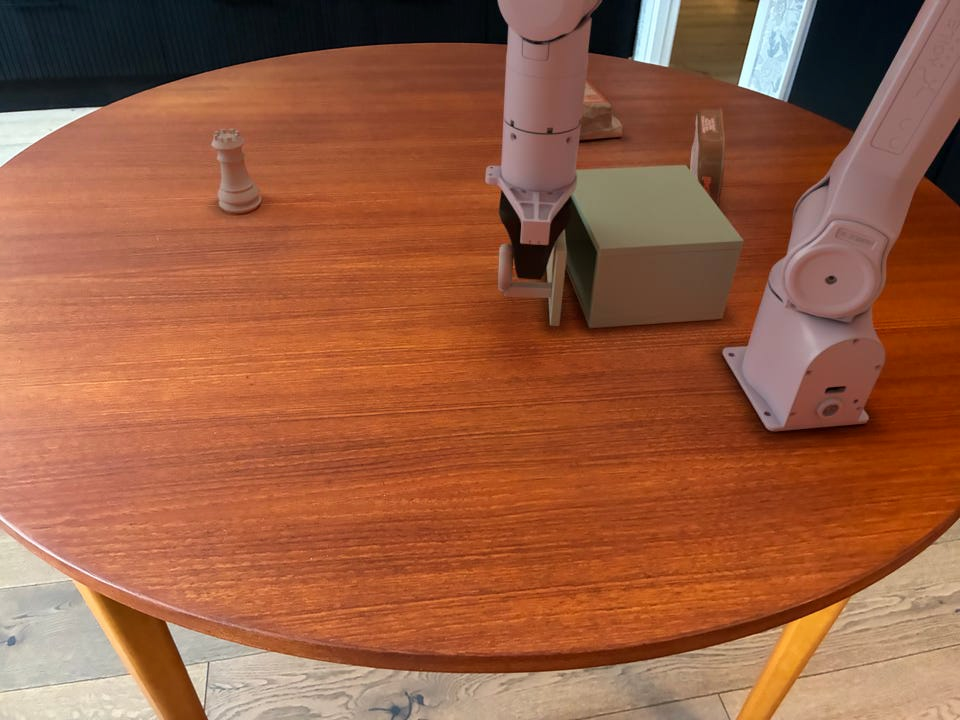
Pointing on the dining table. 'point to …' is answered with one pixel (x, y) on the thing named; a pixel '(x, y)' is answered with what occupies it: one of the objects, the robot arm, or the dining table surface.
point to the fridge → (648, 247)
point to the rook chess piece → (234, 174)
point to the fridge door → (536, 289)
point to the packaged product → (598, 116)
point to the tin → (709, 151)
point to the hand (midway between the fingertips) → (529, 273)
